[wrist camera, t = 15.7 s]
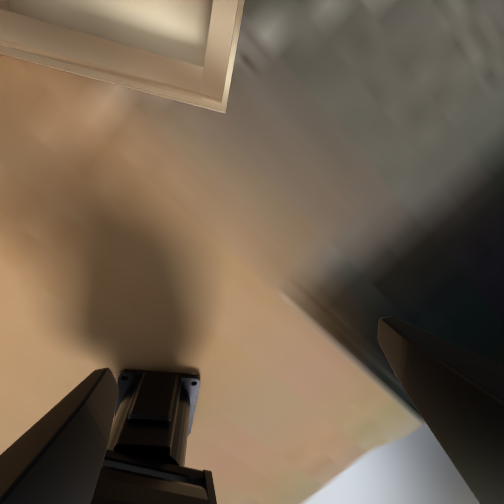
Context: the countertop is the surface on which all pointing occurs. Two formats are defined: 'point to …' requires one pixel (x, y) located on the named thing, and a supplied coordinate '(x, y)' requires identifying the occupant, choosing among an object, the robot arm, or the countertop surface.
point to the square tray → (131, 43)
